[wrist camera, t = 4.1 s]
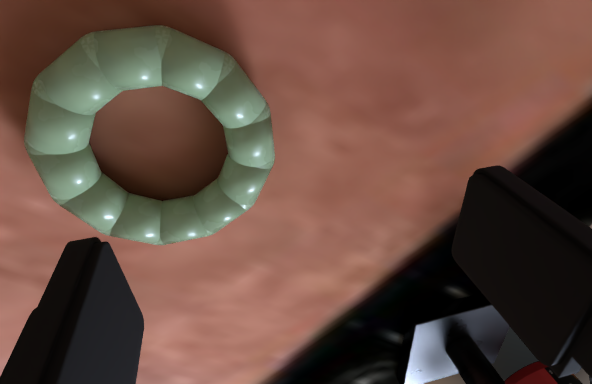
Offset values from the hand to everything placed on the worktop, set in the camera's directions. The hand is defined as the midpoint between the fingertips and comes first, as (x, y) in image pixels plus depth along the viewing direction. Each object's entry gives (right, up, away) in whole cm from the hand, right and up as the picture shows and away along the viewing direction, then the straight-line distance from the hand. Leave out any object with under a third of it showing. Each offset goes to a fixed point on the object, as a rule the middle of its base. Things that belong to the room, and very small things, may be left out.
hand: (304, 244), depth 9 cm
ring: (-6, +3, +5) cm, 8 cm away
